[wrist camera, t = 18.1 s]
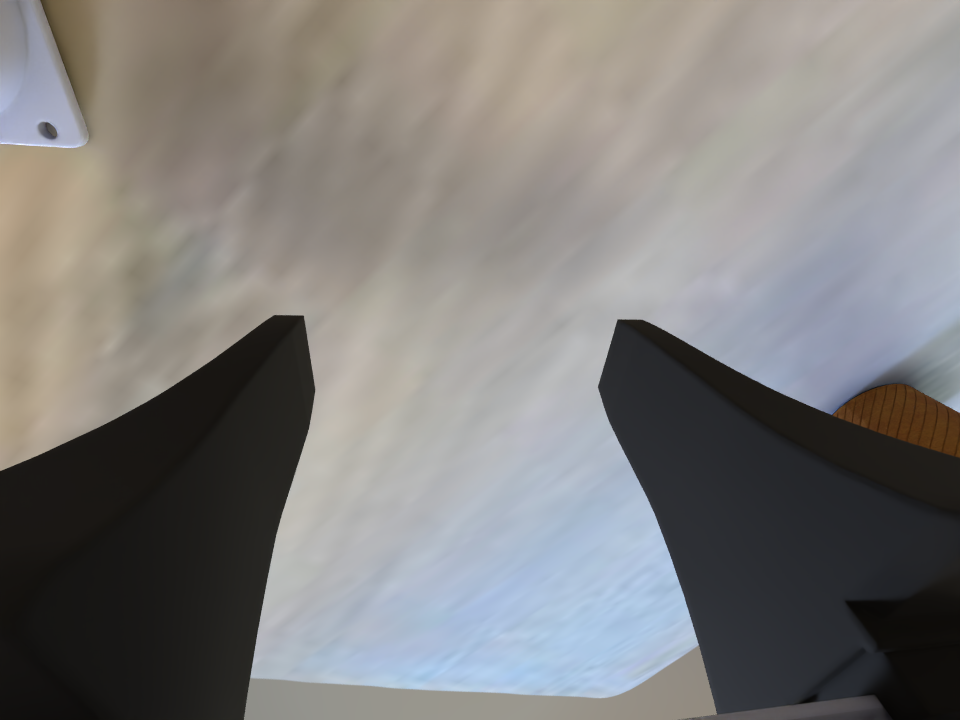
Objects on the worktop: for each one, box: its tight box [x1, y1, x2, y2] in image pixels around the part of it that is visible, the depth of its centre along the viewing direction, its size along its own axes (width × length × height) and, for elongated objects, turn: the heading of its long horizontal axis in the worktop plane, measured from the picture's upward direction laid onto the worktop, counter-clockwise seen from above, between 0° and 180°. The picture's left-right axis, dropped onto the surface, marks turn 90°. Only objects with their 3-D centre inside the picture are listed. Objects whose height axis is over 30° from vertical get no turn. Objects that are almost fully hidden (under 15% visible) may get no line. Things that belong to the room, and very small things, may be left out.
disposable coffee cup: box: [833, 384, 960, 458], centre depth 25 cm, size 10×10×12 cm
